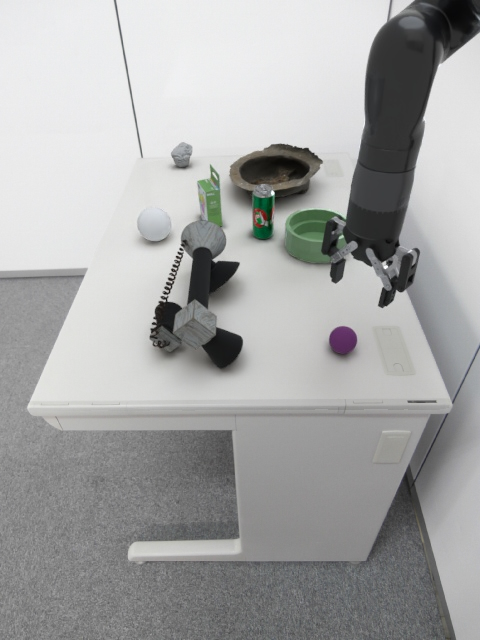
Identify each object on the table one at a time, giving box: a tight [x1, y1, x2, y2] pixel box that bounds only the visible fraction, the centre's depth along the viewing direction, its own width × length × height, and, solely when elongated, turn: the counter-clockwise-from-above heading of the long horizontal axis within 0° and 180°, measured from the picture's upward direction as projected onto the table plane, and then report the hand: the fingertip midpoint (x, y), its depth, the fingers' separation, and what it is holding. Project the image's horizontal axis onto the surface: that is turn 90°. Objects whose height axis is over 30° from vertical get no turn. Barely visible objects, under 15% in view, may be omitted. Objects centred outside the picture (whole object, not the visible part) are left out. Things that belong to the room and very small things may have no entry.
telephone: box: [149, 219, 244, 369], centre depth 82 cm, size 15×13×30 cm
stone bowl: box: [228, 143, 324, 198], centre depth 120 cm, size 25×25×9 cm
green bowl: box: [283, 207, 347, 264], centre depth 100 cm, size 15×15×6 cm
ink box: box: [196, 163, 223, 227], centre depth 107 cm, size 7×4×13 cm, turn 20°
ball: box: [136, 206, 172, 242], centre depth 104 cm, size 8×8×8 cm
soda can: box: [251, 184, 276, 240], centre depth 102 cm, size 5×5×12 cm
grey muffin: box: [170, 141, 193, 168], centre depth 134 cm, size 6×7×7 cm
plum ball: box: [328, 325, 358, 355], centre depth 77 cm, size 5×5×5 cm
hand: (359, 292), depth 68 cm, fingers open, 8 cm apart
